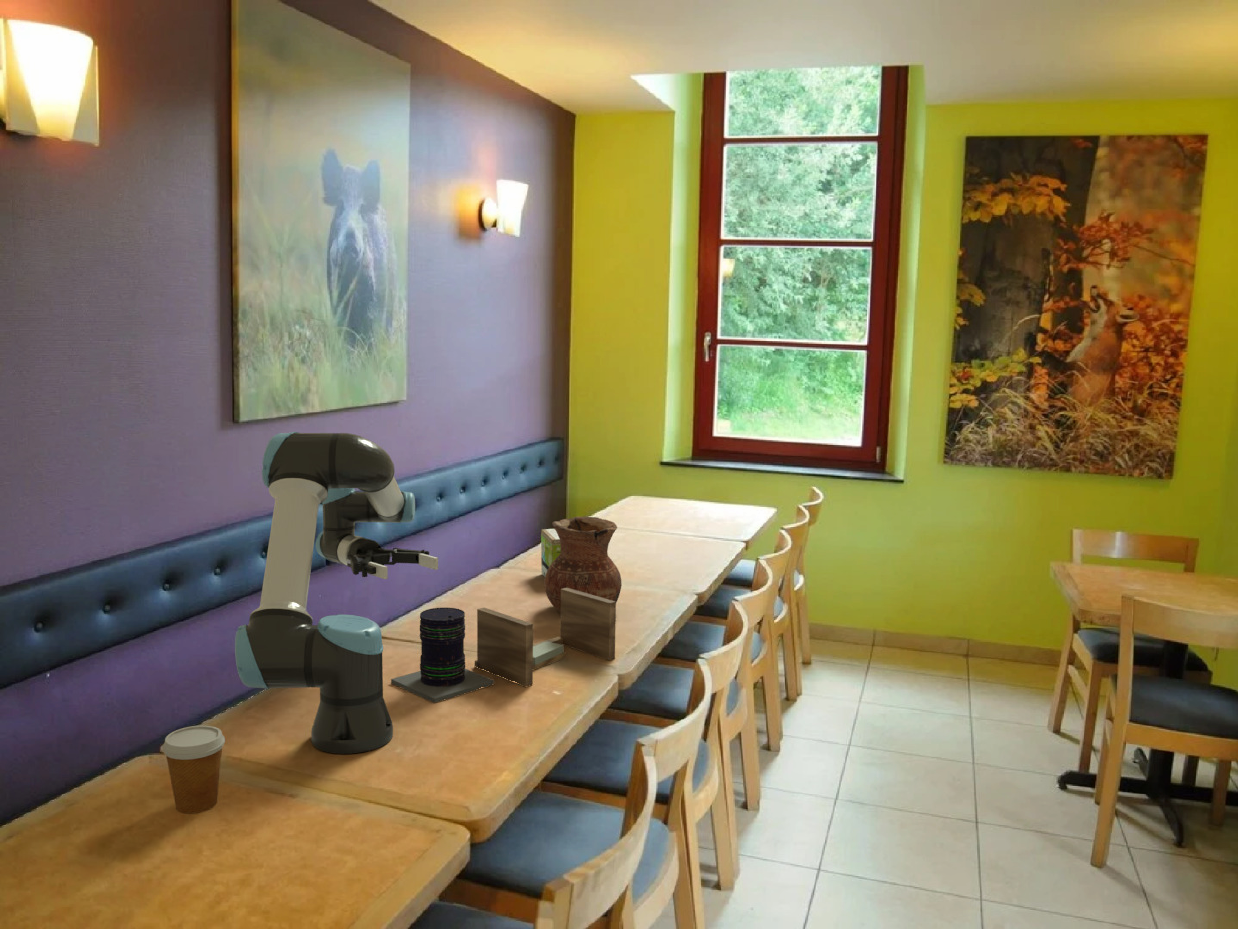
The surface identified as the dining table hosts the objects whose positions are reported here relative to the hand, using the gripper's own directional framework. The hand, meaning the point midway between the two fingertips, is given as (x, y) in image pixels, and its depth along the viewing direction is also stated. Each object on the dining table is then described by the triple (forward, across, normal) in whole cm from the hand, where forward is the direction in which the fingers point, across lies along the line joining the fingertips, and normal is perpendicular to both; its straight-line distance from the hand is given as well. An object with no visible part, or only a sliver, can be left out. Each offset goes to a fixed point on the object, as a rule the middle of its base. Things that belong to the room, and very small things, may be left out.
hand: (412, 568), depth 233 cm
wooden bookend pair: (+17, -26, -24) cm, 39 cm away
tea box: (-38, -81, -23) cm, 92 cm away
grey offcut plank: (+15, -26, -23) cm, 37 cm away
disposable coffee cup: (+30, +63, -25) cm, 74 cm away
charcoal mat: (+12, 0, -24) cm, 27 cm away
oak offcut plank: (+15, -26, -24) cm, 38 cm away
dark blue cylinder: (+12, 0, -23) cm, 26 cm away
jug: (-8, -62, -23) cm, 66 cm away
